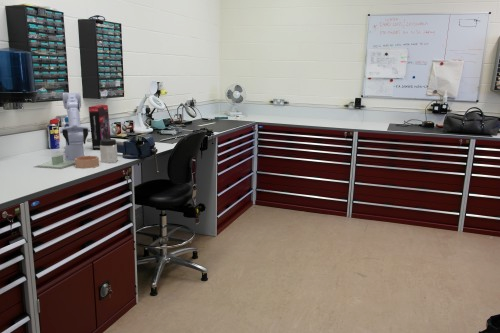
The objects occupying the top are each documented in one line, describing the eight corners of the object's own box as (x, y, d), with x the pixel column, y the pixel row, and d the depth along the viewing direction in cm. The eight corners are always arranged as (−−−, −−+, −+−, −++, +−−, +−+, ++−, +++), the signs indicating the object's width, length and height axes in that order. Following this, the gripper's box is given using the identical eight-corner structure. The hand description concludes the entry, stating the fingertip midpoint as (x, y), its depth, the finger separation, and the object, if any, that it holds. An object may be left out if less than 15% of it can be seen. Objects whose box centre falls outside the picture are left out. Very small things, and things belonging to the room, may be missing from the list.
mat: (32, 168, 212) (32, 167, 212) (55, 161, 228) (55, 160, 228) (61, 170, 208) (61, 169, 208) (82, 163, 224) (82, 162, 224)
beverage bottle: (75, 146, 273) (72, 116, 269) (82, 147, 268) (80, 116, 264) (63, 148, 266) (60, 117, 262) (70, 149, 262) (67, 118, 257)
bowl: (71, 168, 212) (70, 159, 211) (84, 163, 223) (83, 155, 222) (90, 169, 210) (89, 160, 209) (102, 164, 220) (102, 156, 219)
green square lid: (37, 166, 213) (36, 157, 212) (55, 161, 226) (54, 152, 225) (60, 168, 210) (59, 159, 209) (78, 162, 223) (77, 154, 222)
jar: (103, 163, 223) (101, 141, 220) (99, 161, 229) (97, 139, 227) (119, 162, 228) (118, 140, 225) (115, 159, 234) (114, 138, 232)
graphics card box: (102, 150, 261) (99, 106, 255) (91, 150, 261) (87, 106, 255) (111, 145, 277) (108, 104, 271) (101, 145, 278) (98, 104, 271)
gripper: (58, 117, 212) (60, 140, 207) (89, 116, 218) (91, 138, 213) (59, 125, 218) (61, 147, 213) (89, 123, 224) (91, 145, 219)
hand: (76, 143), depth 213 cm, fingers open, 7 cm apart
